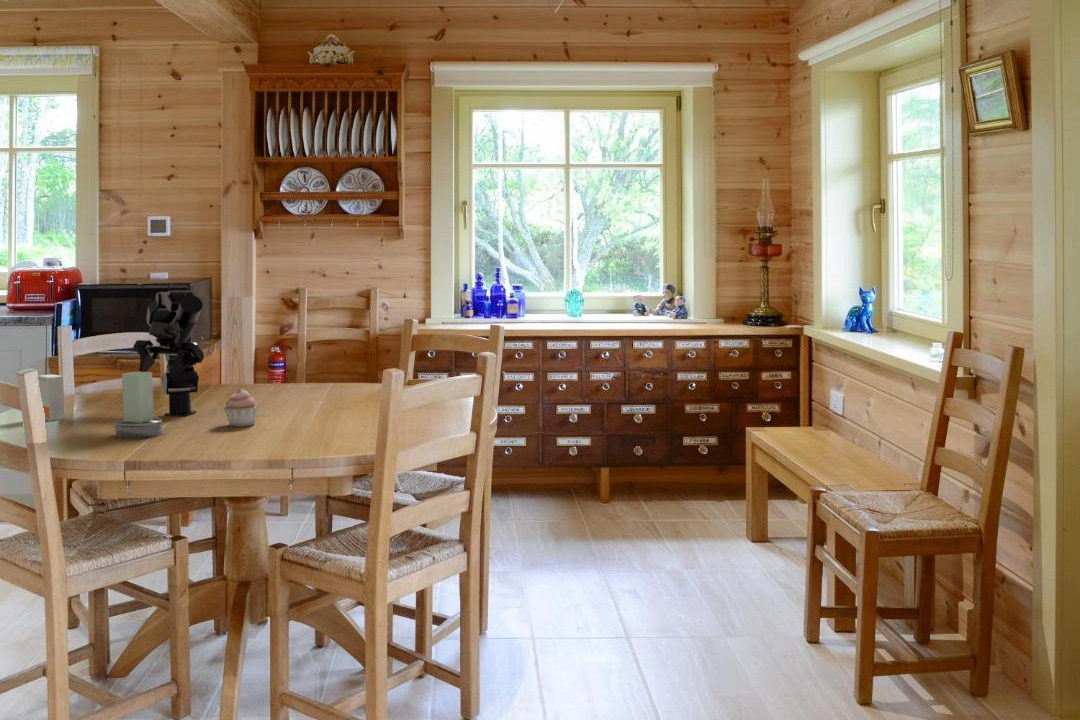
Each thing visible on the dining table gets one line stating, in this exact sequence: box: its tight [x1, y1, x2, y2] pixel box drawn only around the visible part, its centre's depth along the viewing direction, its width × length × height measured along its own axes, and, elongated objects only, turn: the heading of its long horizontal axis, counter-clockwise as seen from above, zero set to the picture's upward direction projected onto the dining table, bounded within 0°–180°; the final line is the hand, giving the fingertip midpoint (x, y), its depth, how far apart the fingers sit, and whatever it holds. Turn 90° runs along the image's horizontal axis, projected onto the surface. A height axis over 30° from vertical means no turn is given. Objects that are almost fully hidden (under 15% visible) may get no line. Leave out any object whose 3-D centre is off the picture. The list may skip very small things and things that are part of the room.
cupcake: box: [222, 387, 260, 428], centre depth 269 cm, size 9×9×10 cm
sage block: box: [121, 370, 155, 423], centre depth 254 cm, size 5×5×12 cm
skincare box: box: [37, 373, 66, 422], centre depth 275 cm, size 6×4×12 cm
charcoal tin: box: [113, 416, 163, 440], centre depth 255 cm, size 11×11×4 cm
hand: (155, 376), depth 264 cm, fingers open, 9 cm apart
